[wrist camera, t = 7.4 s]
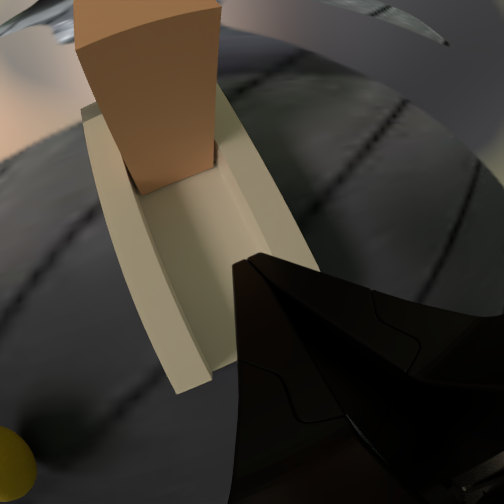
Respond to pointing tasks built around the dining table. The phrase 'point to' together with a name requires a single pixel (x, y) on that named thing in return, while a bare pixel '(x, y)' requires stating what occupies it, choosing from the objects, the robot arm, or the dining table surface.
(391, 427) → the robot arm
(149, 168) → the block
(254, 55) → the dining table surface
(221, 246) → the chute
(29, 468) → the lemon
